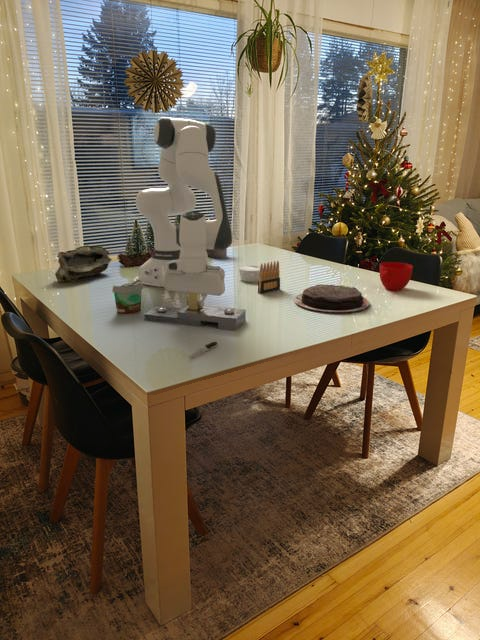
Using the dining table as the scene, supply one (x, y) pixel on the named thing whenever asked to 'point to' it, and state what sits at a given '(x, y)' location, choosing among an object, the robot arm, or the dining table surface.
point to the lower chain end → (169, 316)
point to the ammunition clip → (269, 278)
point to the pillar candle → (217, 253)
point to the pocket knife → (204, 349)
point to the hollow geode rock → (81, 263)
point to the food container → (128, 297)
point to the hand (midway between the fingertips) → (194, 305)
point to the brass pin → (194, 301)
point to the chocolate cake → (332, 299)
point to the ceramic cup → (395, 275)
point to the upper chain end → (216, 316)
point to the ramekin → (249, 273)
